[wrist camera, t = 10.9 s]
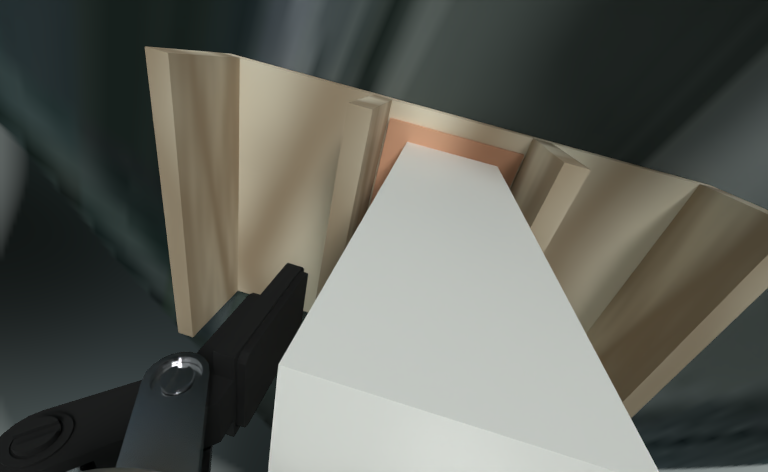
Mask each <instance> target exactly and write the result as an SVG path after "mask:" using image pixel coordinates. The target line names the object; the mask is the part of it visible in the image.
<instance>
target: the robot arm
mask: <svg viewBox="0 0 768 472" xmlns="http://www.w3.org/2000/svg"><path fill="white" fill-rule="evenodd" d="M307 280H308V273H306V272H304V268H303V267H300V266H297V265H294V264H290V263H287V264H286V265H285V266H284V267H283V268H282V269H281V271H280V272H279V273H278V274H277V275H276V277H275V278H274V279H273V280H272V281H271V283H270V284H269V285H268V286H267V287H266V289H265V290H264V291H263V292H262V293H261V294H256V293H251V294H250V295H248V296H247V297H246V299H245V300H244V301H243V302H242V303H241V304H240V305H239V306H238V307H237V309H236V310H235V311H234V312H233V313H232V314H231V315H230V316H229V318H228V319H227V320H226V321H225V322H224V323H223V324H222V325H221V327H220V328H219V329H218V330H217V331H216V332H215V333H214V334H213V335H212V337H211V338H210V339H209V340H208V341H207V342H206V343H205V344H204V346H203V347H202V348H201V349H200V350H199V351H198V353H193V352H179V353H175V354H171V355H168V356H166V357H164V358H162V359H160V360H159V361H157V362H156V363H154V364H153V365H152V366H151V367H150V368H149V369H148V370H147V371H146V373H145V375H144V377H143V379H142V380H140V381H137V382H134V383H131V384H127V385H124V386H121V387H118V388H114V389H111V390H108V391H105V392H102V393H98V394H95V395H92V396H89V397H85V398H82V399H79V400H76V401H72V402H69V403H66V404H62V405H59V406H56V407H53V408H50V409H46V410H43V411H41V412H38V413H35V414H33V415H30V416H28V417H27V418H25V419H23V420H21V421H20V422H18V423H16V424H15V425H14V426H12V427H11V428H10V429H9V430H7V431H6V432H5V433H4V434H2V435H1V437H0V472H210V470H211V458H212V447H213V445H214V444H216V443H219V442H221V440H222V438H223V437H224V435H225V434H227V435H230V436H233V437H234V436H235V434H236V432H237V431H238V429H239V427H240V426H242V427H246V426H247V425H248V423H249V422H250V420H251V418H252V416H253V415H254V413H255V411H256V409H257V408H258V406H259V404H260V402H261V401H262V399H263V397H264V395H265V393H266V392H267V390H268V388H269V386H270V385H271V383H272V381H273V379H274V378H275V376H276V374H277V372H278V364H279V363H280V361H281V359H282V357H283V356H284V354H285V352H286V351H287V349H288V347H289V345H290V344H291V342H292V340H293V338H294V337H295V335H296V333H297V332H298V330H299V328H300V326H301V322H302V315H303V308H304V301H305V294H306V287H307Z"/></svg>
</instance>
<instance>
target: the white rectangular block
mask: <svg viewBox="0 0 768 472" xmlns="http://www.w3.org/2000/svg"><path fill="white" fill-rule="evenodd" d="M268 472H659V471H658V469H657V467H656V465H655V463H654V461H653V459H652V458H651V456H650V454H649V452H648V450H647V448H646V446H645V444H644V442H643V441H642V439H641V437H640V435H639V433H638V431H637V429H636V427H635V425H634V424H633V422H632V420H631V418H630V416H629V414H628V412H627V410H626V408H625V407H624V405H623V403H622V401H621V399H620V397H619V395H618V393H617V391H616V389H615V388H614V386H613V384H612V382H611V380H610V378H609V376H608V374H607V372H606V371H605V369H604V367H603V365H602V363H601V361H600V359H599V357H598V355H597V354H596V352H595V350H594V348H593V346H592V344H591V342H590V340H589V338H588V337H587V335H586V333H585V331H584V329H583V327H582V325H581V323H580V321H579V320H578V318H577V316H576V314H575V312H574V310H573V308H572V306H571V304H570V303H569V301H568V299H567V297H566V295H565V293H564V291H563V289H562V287H561V286H560V284H559V282H558V280H557V278H556V276H555V274H554V272H553V270H552V269H551V267H550V265H549V263H548V261H547V259H546V257H545V255H544V253H543V252H542V250H541V248H540V246H539V244H538V242H537V240H536V238H535V236H534V234H533V233H532V231H531V229H530V227H529V225H528V223H527V221H526V219H525V217H524V216H523V214H522V212H521V210H520V208H519V206H518V204H517V202H516V200H515V199H514V197H513V195H512V193H511V191H510V189H509V187H508V185H507V183H506V182H505V180H504V178H503V176H502V174H501V172H500V170H499V168H498V167H497V166H494V165H490V164H487V163H483V162H479V161H476V160H472V159H468V158H465V157H461V156H458V155H454V154H450V153H447V152H443V151H439V150H436V149H432V148H429V147H425V146H421V145H418V144H414V143H410V142H407V143H406V145H405V147H404V148H403V150H402V152H401V153H400V155H399V157H398V159H397V160H396V162H395V164H394V166H393V167H392V169H391V171H390V172H389V174H388V176H387V178H386V179H385V181H384V183H383V185H382V186H381V188H380V190H379V191H378V193H377V195H376V197H375V198H374V200H373V202H372V204H371V205H370V207H369V209H368V210H367V212H366V214H365V216H364V217H363V219H362V221H361V223H360V224H359V226H358V228H357V229H356V231H355V233H354V235H353V236H352V238H351V240H350V242H349V243H348V245H347V247H346V249H345V250H344V252H343V254H342V255H341V257H340V259H339V261H338V262H337V264H336V266H335V268H334V269H333V271H332V273H331V274H330V276H329V278H328V280H327V281H326V283H325V285H324V287H323V288H322V290H321V292H320V293H319V295H318V297H317V299H316V300H315V302H314V304H313V306H312V307H311V309H310V311H309V312H308V314H307V316H306V318H305V319H304V321H303V323H302V325H301V326H300V328H299V330H298V332H297V333H296V335H295V337H294V338H293V340H292V342H291V344H290V345H289V347H288V349H287V351H286V352H285V354H284V356H283V357H282V359H281V361H280V363H279V364H278V374H277V384H276V394H275V405H274V415H273V425H272V435H271V446H270V455H269V466H268Z"/></svg>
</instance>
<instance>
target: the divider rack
mask: <svg viewBox="0 0 768 472" xmlns="http://www.w3.org/2000/svg"><path fill="white" fill-rule="evenodd" d="M145 53H146V62H147V70H148V79H149V87H150V96H151V104H152V113H153V121H154V129H155V138H156V146H157V155H158V163H159V172H160V180H161V189H162V197H163V206H164V214H165V223H166V231H167V239H168V248H169V256H170V265H171V273H172V282H173V290H174V299H175V307H176V316H177V324H178V332H179V333H182V334H185V335H188V336H191V337H194V336H195V335H196V333H197V332H198V331H199V330H200V329H201V328H202V327H203V326H204V325H205V324H206V323H207V322H208V321H209V320H210V319H211V318H212V317H213V316H214V315H215V314H216V313H217V312H218V311H219V310H220V308H221V307H222V306H223V305H224V304H225V303H226V302H227V301H228V300H229V299H230V298H231V297H232V296H233V295H234V294H235V293H236V292H237V291H241V292H244V293H248V294H251V293H256V294H261V293H262V292H263V291H264V290H265V289H266V287H267V286H268V285H269V284H270V283H271V281H272V280H273V279H274V278H275V277H276V275H277V274H278V273H279V272H280V271H281V269H282V268H283V267H284V266H285V265H286V264H287V263H290V264H294V265H297V266H300V267H303V268H304V272H306V273H308V280H307V287H306V294H305V301H304V308H303V311H306V312H309V311H310V309H311V307H312V306H313V304H314V302H315V300H316V299H317V297H318V295H319V293H320V292H321V290H322V288H323V287H324V285H325V283H326V281H327V280H328V278H329V276H330V274H331V273H332V271H333V269H334V268H335V266H336V264H337V262H338V261H339V259H340V257H341V255H342V254H343V252H344V250H345V249H346V247H347V245H348V243H349V242H350V240H351V238H352V236H353V235H354V233H355V231H356V229H357V228H358V226H359V224H360V223H361V221H362V219H363V217H364V216H365V214H366V212H367V210H368V209H369V207H370V205H371V204H372V202H373V200H374V198H375V197H376V195H377V193H378V191H379V190H380V188H381V186H382V185H383V183H384V181H385V179H386V178H387V176H388V174H389V172H390V171H391V169H392V167H393V166H394V164H395V162H396V160H397V159H398V157H399V155H400V153H401V152H402V150H403V148H404V147H405V145H406V143H407V142H410V143H414V144H418V145H421V146H425V147H429V148H432V149H436V150H439V151H443V152H447V153H450V154H454V155H458V156H461V157H465V158H468V159H472V160H476V161H479V162H483V163H487V164H490V165H494V166H497V167H498V168H499V170H500V172H501V174H502V176H503V178H504V180H505V182H506V183H507V185H508V187H509V189H510V191H511V193H512V195H513V197H514V199H515V200H516V202H517V204H518V206H519V208H520V210H521V212H522V214H523V216H524V217H525V219H526V221H527V223H528V225H529V227H530V229H531V231H532V233H533V234H534V236H535V238H536V240H537V242H538V244H539V246H540V248H541V250H542V252H543V253H544V255H545V257H546V259H547V261H548V263H549V265H550V267H551V269H552V270H553V272H554V274H555V276H556V278H557V280H558V282H559V284H560V286H561V287H562V289H563V291H564V293H565V295H566V297H567V299H568V301H569V303H570V304H571V306H572V308H573V310H574V312H575V314H576V316H577V318H578V320H579V321H580V323H581V325H582V327H583V329H584V331H585V333H586V335H587V337H588V338H589V340H590V342H591V344H592V346H593V348H594V350H595V352H596V354H597V355H598V357H599V359H600V361H601V363H602V365H603V367H604V369H605V371H606V372H607V374H608V376H609V378H610V380H611V382H612V384H613V386H614V388H615V389H616V391H617V393H618V395H619V397H620V399H621V401H622V403H623V405H624V407H625V408H626V410H627V412H628V414H629V416H630V418H632V417H633V416H634V415H635V414H636V413H637V412H638V411H639V410H640V409H641V408H642V407H643V406H644V405H645V404H647V403H648V402H649V401H650V400H651V399H652V398H653V397H654V396H655V395H656V394H657V393H658V392H659V391H660V390H661V389H662V388H663V387H664V386H665V385H666V384H667V383H669V382H670V381H671V380H672V379H673V378H674V377H675V376H676V375H677V374H678V373H679V372H680V371H681V370H682V369H683V368H684V367H685V366H686V365H687V364H688V363H689V362H691V361H692V360H693V359H694V358H695V357H696V356H697V355H698V354H699V353H700V352H701V351H702V350H703V349H704V348H705V347H706V346H707V345H708V344H709V343H710V342H711V341H713V340H714V339H715V338H716V337H717V336H718V335H719V334H720V333H721V332H722V331H723V330H724V329H725V328H726V327H727V326H728V325H729V324H730V323H731V322H732V321H733V320H735V319H736V318H737V317H738V316H739V315H740V314H741V313H742V312H743V311H744V310H745V309H746V308H747V307H748V306H749V305H750V304H751V303H752V302H753V301H754V300H755V299H757V298H758V297H759V296H760V295H761V294H762V293H763V292H764V291H765V290H766V289H767V288H768V210H766V209H764V208H762V207H759V206H757V205H755V204H752V203H750V202H748V201H745V200H743V199H741V198H739V197H736V196H734V195H732V194H729V193H727V192H725V191H722V190H720V189H718V188H715V187H713V186H711V185H708V184H704V183H701V182H697V181H693V180H690V179H686V178H682V177H679V176H675V175H671V174H668V173H664V172H660V171H657V170H653V169H649V168H646V167H642V166H639V165H635V164H631V163H628V162H624V161H620V160H617V159H613V158H609V157H606V156H602V155H598V154H595V153H591V152H587V151H584V150H580V149H577V148H573V147H569V146H566V145H562V144H558V143H555V142H551V141H547V140H544V139H540V138H536V137H533V136H529V135H525V134H522V133H518V132H514V131H511V130H507V129H504V128H500V127H496V126H493V125H489V124H485V123H482V122H478V121H474V120H471V119H467V118H463V117H460V116H456V115H452V114H449V113H445V112H441V111H438V110H434V109H431V108H427V107H423V106H420V105H416V104H412V103H409V102H405V101H401V100H398V99H394V98H390V97H387V96H383V95H379V94H376V93H372V92H369V91H365V90H361V89H358V88H354V87H350V86H347V85H343V84H339V83H336V82H332V81H328V80H325V79H321V78H317V77H314V76H310V75H306V74H303V73H299V72H296V71H292V70H288V69H285V68H281V67H277V66H274V65H270V64H266V63H263V62H259V61H255V60H252V59H248V58H244V57H241V56H237V55H233V54H228V53H216V52H204V51H192V50H181V49H169V48H157V47H145Z"/></svg>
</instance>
